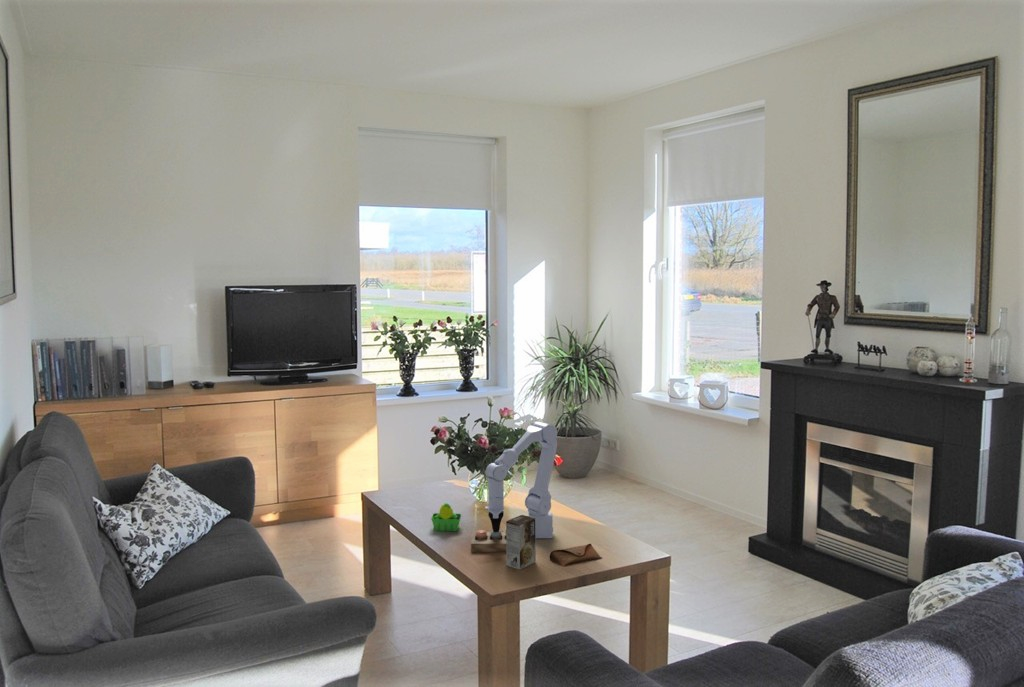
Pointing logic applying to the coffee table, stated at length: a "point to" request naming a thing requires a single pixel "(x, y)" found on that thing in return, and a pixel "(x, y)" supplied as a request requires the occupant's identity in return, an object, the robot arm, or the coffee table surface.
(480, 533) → the pink ball
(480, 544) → the wooden tray
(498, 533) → the blue-grey ball
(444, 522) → the fruit basket
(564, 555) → the sunglasses case
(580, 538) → the coffee table surface
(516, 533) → the coffee box
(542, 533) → the robot arm
